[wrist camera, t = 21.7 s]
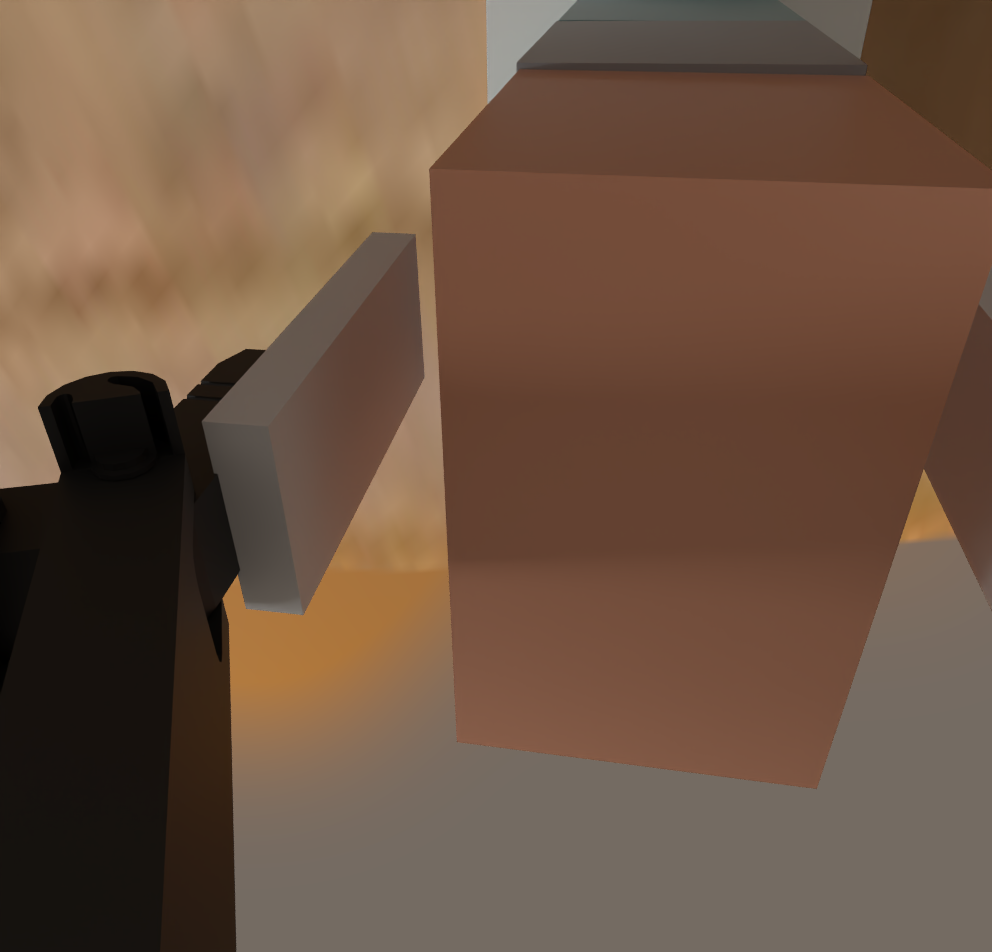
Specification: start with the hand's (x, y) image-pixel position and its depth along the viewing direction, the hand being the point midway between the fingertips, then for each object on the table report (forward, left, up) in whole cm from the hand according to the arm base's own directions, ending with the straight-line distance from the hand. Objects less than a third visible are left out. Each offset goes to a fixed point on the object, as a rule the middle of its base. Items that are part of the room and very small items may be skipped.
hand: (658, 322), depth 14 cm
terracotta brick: (0, 0, 0) cm, 0 cm away
